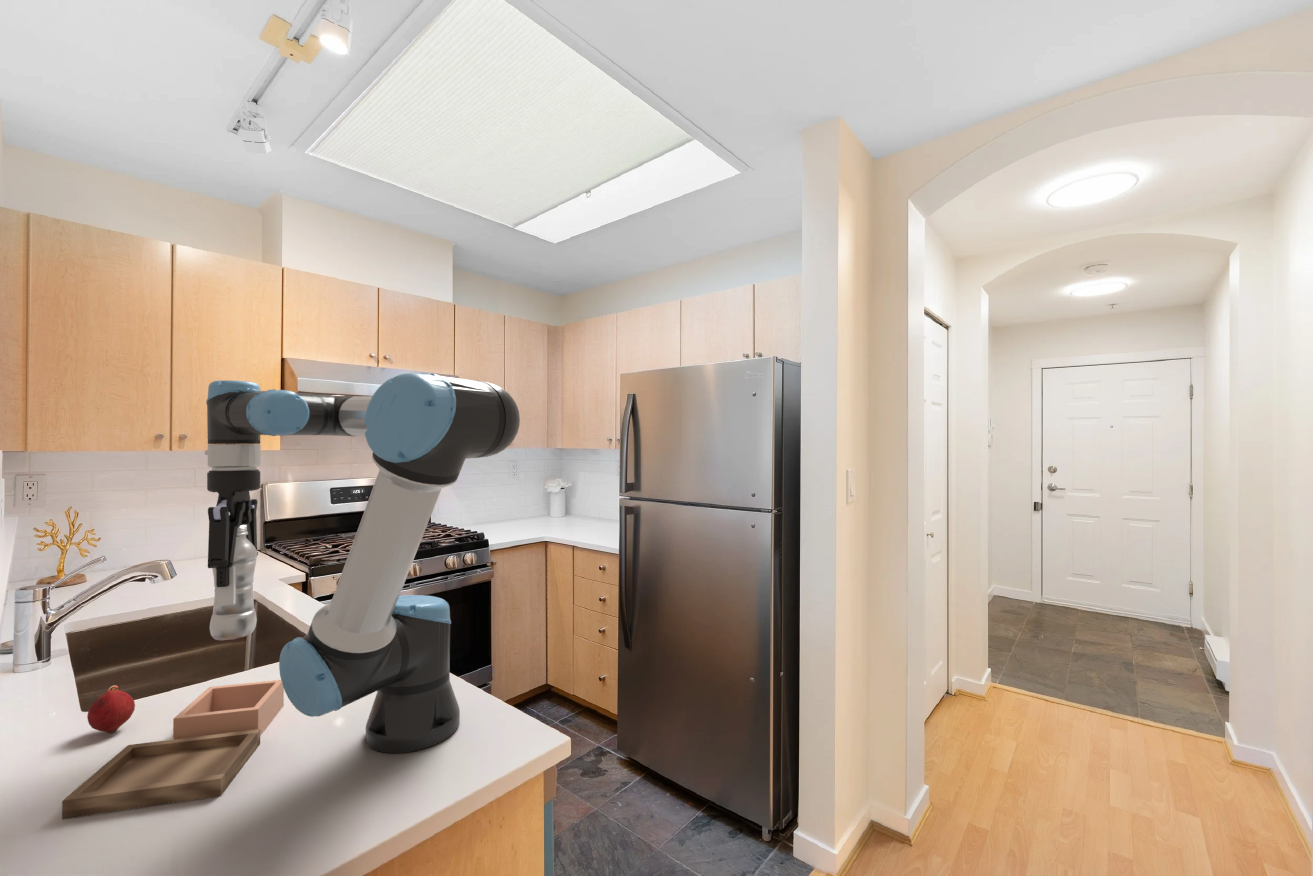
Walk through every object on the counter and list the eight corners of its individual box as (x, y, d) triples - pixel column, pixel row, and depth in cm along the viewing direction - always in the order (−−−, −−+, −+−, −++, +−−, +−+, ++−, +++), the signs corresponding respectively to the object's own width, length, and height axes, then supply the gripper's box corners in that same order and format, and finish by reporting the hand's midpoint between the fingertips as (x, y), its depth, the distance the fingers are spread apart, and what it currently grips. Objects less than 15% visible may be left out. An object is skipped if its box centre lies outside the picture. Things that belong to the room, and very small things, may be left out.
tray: (260, 744, 93) (260, 729, 93) (220, 796, 79) (220, 778, 79) (128, 760, 88) (128, 745, 88) (62, 819, 74) (62, 800, 74)
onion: (104, 743, 93) (104, 695, 93) (77, 739, 94) (78, 692, 94) (143, 725, 98) (143, 680, 98) (117, 722, 100) (117, 677, 100)
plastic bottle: (219, 634, 101) (219, 523, 100) (262, 630, 103) (263, 521, 103) (202, 646, 94) (202, 529, 94) (248, 642, 96) (249, 527, 96)
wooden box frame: (283, 705, 106) (283, 679, 106) (258, 738, 95) (258, 709, 95) (209, 714, 103) (209, 687, 103) (173, 749, 91) (173, 718, 91)
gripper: (233, 466, 107) (233, 587, 107) (180, 472, 88) (179, 617, 88) (278, 465, 109) (278, 584, 109) (235, 471, 91) (235, 613, 90)
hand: (233, 599), depth 99 cm, fingers closed on plastic bottle, 6 cm apart
